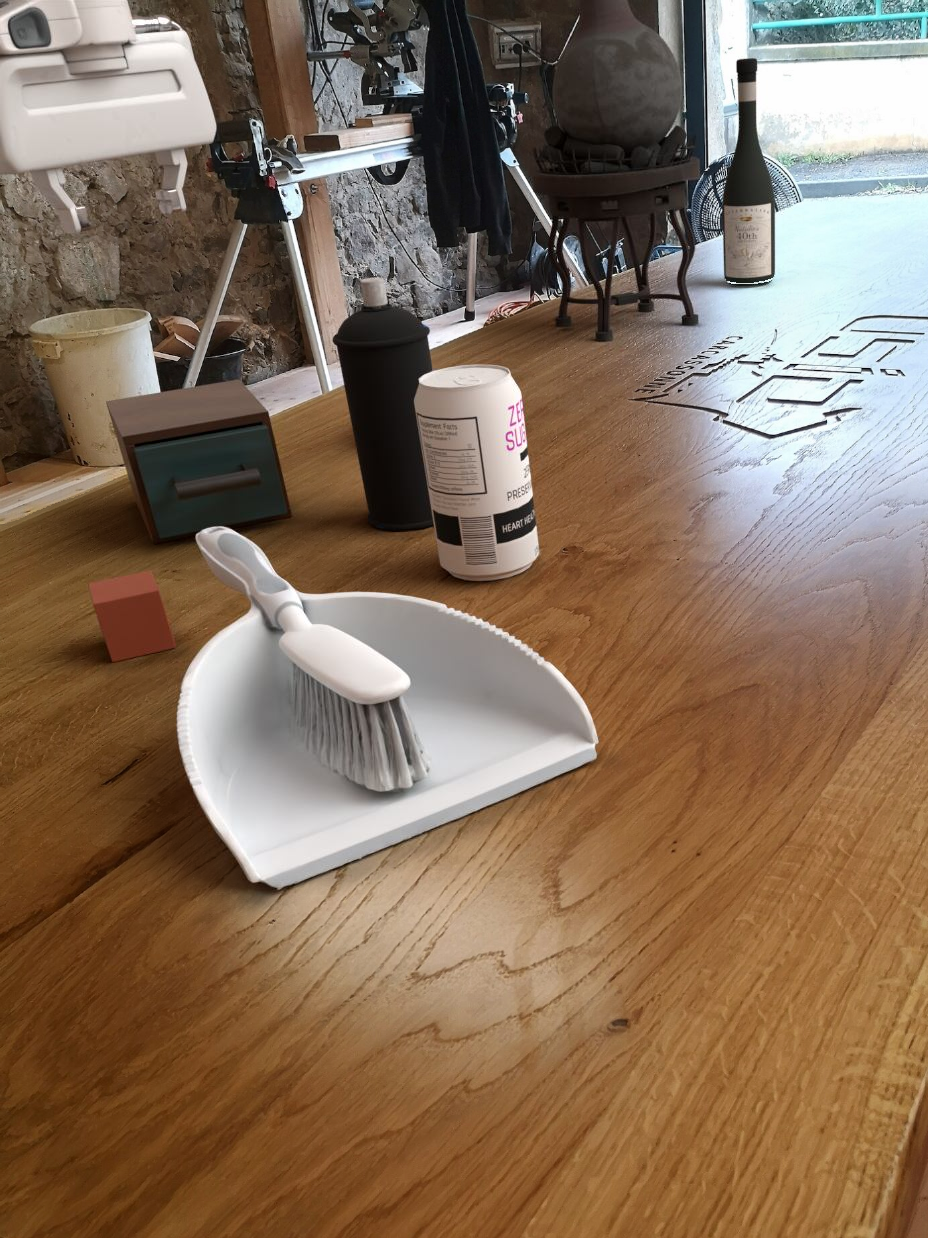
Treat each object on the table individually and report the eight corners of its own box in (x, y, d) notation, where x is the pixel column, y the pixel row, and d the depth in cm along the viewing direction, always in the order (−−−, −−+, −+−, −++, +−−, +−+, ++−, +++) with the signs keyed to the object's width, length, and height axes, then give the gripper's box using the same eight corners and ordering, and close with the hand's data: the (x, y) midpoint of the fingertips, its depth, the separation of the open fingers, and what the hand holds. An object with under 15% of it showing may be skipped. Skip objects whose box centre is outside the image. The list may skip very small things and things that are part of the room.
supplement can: (431, 558, 105) (400, 372, 96) (524, 540, 107) (502, 357, 98) (453, 591, 98) (422, 395, 90) (552, 571, 100) (531, 378, 92)
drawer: (298, 528, 111) (278, 439, 106) (167, 555, 107) (140, 464, 103) (259, 475, 124) (240, 395, 120) (142, 498, 121) (118, 416, 116)
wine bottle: (772, 287, 193) (771, 57, 176) (721, 288, 194) (715, 61, 177) (776, 277, 199) (776, 55, 182) (727, 278, 201) (722, 58, 184)
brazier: (723, 330, 170) (713, -81, 145) (562, 349, 166) (523, -69, 141) (682, 301, 188) (666, -68, 163) (536, 318, 185) (496, -57, 159)
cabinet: (292, 516, 116) (268, 411, 111) (153, 544, 112) (121, 436, 107) (262, 476, 127) (239, 379, 122) (135, 500, 123) (105, 401, 118)
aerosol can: (419, 536, 109) (377, 290, 98) (348, 525, 113) (300, 287, 102) (475, 506, 115) (441, 271, 104) (405, 496, 119) (366, 268, 108)
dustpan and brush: (254, 904, 65) (207, 745, 59) (79, 692, 87) (33, 563, 82) (616, 754, 75) (604, 608, 70) (376, 600, 98) (352, 480, 93)
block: (112, 662, 91) (92, 603, 89) (106, 640, 95) (87, 583, 92) (176, 648, 93) (159, 589, 90) (168, 626, 96) (151, 569, 94)
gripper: (157, 15, 103) (203, 202, 111) (-76, 31, 90) (-5, 243, 97) (206, 9, 100) (250, 202, 108) (-28, 25, 86) (42, 244, 94)
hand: (127, 222), depth 102 cm, fingers open, 8 cm apart
